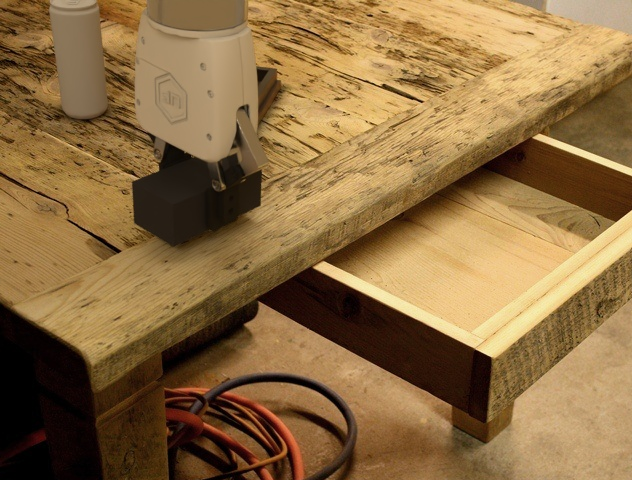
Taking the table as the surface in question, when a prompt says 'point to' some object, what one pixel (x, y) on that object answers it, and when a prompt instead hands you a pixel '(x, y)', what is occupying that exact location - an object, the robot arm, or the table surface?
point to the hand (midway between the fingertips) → (199, 209)
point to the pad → (184, 200)
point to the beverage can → (79, 57)
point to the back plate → (266, 89)
